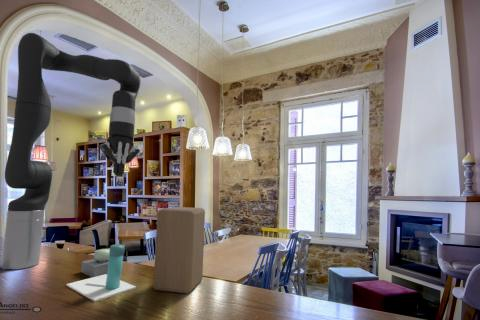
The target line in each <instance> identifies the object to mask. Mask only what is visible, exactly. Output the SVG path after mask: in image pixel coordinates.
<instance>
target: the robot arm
mask: <svg viewBox="0 0 480 320" xmlns="http://www.w3.org/2000/svg"><path fill="white" fill-rule="evenodd" d="M17 47H18V48H17V64H18V65H17V66H18V67H17V68H18V78H17V92H16V97H15V98H16V99H15V108H14V117H13V118H14V119H13V120H14V121H13V131H12V136H11V142H10V143H11V144H10V147H9V151H8V155H7V159H6V163H5V171H4V179H5V183H6V185H7V186H8V187H10V188H11V189H17V190H18V189H20V190H21V189H23V190H25V192H24V193H23V194H22V195H21V196H20V197H18V198H15V199H13V200H10V201H9V202H8V204H7V205H8V206H7V214H6V222H5V230H4V239H3V246H2V253H1V261H0V269H1V268H3V269H2V270H5V269H12V270H21V269H26V268H32V267H34V266H37V265H38V264H40V259H41V258H40V257H41V247H42V239H43V230H44V229H43V228H44V220H45V210H46V209H45V208H46V205H47V203H48V201H49V197H50V194H51V193H50V192H51V186H52V181H53V170H52V167H51V166H50V164H49V163H47V162H45V161H38V160H31V159H32V157H31V156H32V150H33V148H34V147H33V146H34V145H35V142H36V141H37V140H38V138H40V137H41V135H43V133H44V132H45V130H47V128H48V126H49V125H50V121H51V113H52V102H51V98H50V96H49V95H50V94H49V93H48V90H47V88H46V85H45V83H44V79H43V74H42V73H43V70H45V71H46V70H47V71H54V72H55V71H56V72H57V71H58V72H66V73H73V74H79V75H82V76H86V77H90V78H93V79H96V80H100V81H109V80H112V81H115V82H117V83H118V84H120V87H119V90H116V91H114V92H113V95H112V100H111V110H110V114H109V115H110V116H109V126H108V138H107V140H106V142H104V143H102V144H99V147H98V148H100V150H101V152H102V153H103V155H104V156H105V158H106V159H107V161H108V162H111V163H113V170H112V171H113V174H114V176H117V177H119V176H120V177H121V176H123V175H124V173H125V166H126V164H128V163H131V162H132V161H133V160H134V159H135V157H136V156H137V155H138V154H139V153H140V149H139V148H136V147H135V142H134V138H135V124H136V99H137V97H138V94H139V90H140V87H141V76H140V73H139V72H138V71H137V70H136V69H135V68H134V67H133V66H132V65H131V64H130V63H128V62H126V61H125V60H122V59H114V58H113V59H111V58H107V59H106V58H102V57H99V56H94V55H90V54H79V55H74V54H69V53H67V52H65V51H63V50H60V49H59V48H57V47H56V46H55V45H54V44H53V43H51V42H49V40H47V39H45V38H44V37H43V36H41V35H39V34H37V33H35V32H29V33H26V34H24V35H23V36H22V37H21V38H20V40H19V42H18V46H17Z"/></svg>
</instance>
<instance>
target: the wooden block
mask: <svg viewBox="0 0 480 320" xmlns="http://www.w3.org/2000/svg"><path fill="white" fill-rule="evenodd" d="M205 216H206V210H205V208H203V207H188V206H187V207H185V206H173V207H166V208H160V209H158V211H157V218H156V231H155V232H156V235H155V250H154V251H155V253H154V269H153V284H152V285H153V287H152V288H153V290H155V291H163V292H172V293H173V292H174V293H181V294H190V293H191V292H192V291H193V290H194V289H195V288H196V287H197V286H198V285H199V284H200V283H201V282H202V280H203V273H204V272H203V269H204V249H205V248H204V246H205V245H204V244H205V222H206V221H205V220H206V219H205Z"/></svg>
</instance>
